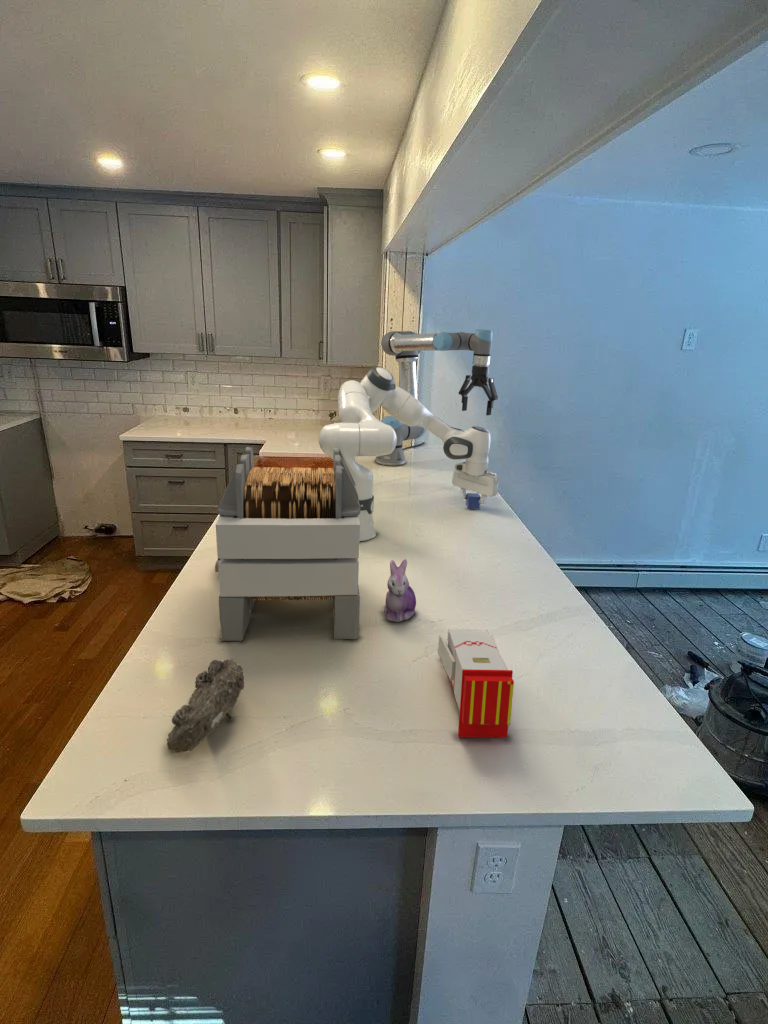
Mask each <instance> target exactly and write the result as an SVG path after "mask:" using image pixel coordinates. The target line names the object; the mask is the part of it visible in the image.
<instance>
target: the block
mask: <svg viewBox="0 0 768 1024" xmlns="http://www.w3.org/2000/svg"><path fill="white" fill-rule="evenodd" d="M466 494H467V499H466V500H465V506H466V508H467V509H477V510H480V507H481V504H479V500H480V499H482V498H481V497H482V496H481V495H480V493H477V492H474V493H473V492H466Z"/></svg>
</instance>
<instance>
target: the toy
mask: <svg viewBox="0 0 768 1024" xmlns="http://www.w3.org/2000/svg"><path fill="white" fill-rule="evenodd" d="M446 640H447V643H446V641H445V639H444V636H443V635H442V634H439V637H438V646H437V656H438V657H439V659H440V661H441V663H442V666H443V668H444V670H445V672H446V674H447V677H448V679H449V681H450V684H451V687H452V690H453V693H454V697H455V701H456V705H457V708H458V711H459V714H458V715H459V716H458V730H457V731H458V732H457V737H458V738H508V731H509V726H510V725H511V717H512V707H513V697H514V696H513V695H514V684H515V680H514V679H513V673H514V671H513V670H512V669H508V667H507V665H506V662H505V661H504V659H503V658H502V655H501V653H500V651H499V649H498V647H497V643H496V639H495V637H494V635H493V634H491V632H490V631H489V629H467V628H466V629H465V628H463V629H461V628H460V629H459V628H448V630H447V639H446Z"/></svg>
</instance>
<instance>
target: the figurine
mask: <svg viewBox="0 0 768 1024" xmlns="http://www.w3.org/2000/svg"><path fill="white" fill-rule="evenodd" d="M407 567H408V559H406V558H404V559H403V560H402V561H401V563H400V565H399V566H398V565H397V563H396V562H395V561H394V560H393V559H391V560H390V561H389V570H390V576H389V578H388V579H387V589H388V591H387V592H386V594H385V595H386V596H385V607H384V615H385V616H386V620H387V621H391V622H395V623H400V622H402V621H406V620H409V619H410V618H411V617H413V616H414V615H415V610H416V606H417V597H416V593H415V591H414V590H413V587H411V586H410V582H409V579H408V577H407V574H406V571H407Z"/></svg>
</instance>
